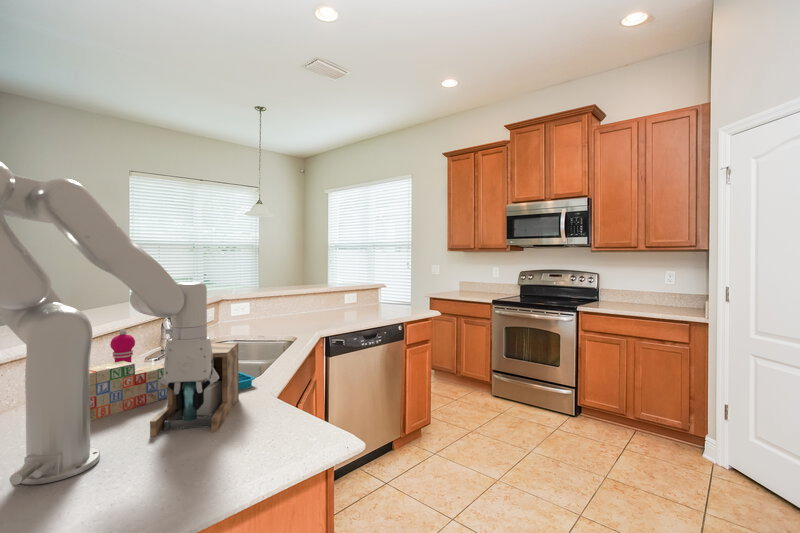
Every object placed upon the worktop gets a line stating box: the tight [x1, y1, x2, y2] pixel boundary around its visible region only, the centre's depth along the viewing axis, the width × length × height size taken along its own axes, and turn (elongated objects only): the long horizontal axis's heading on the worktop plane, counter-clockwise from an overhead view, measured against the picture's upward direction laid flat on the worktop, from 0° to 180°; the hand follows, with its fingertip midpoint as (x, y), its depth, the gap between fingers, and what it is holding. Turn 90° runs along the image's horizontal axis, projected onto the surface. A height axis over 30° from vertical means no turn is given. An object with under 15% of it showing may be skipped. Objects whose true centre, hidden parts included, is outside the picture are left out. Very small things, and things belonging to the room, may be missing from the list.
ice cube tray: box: [238, 371, 256, 391], centre depth 131 cm, size 12×20×3 cm, turn 50°
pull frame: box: [163, 382, 222, 431], centre depth 105 cm, size 18×11×11 cm, turn 10°
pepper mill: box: [109, 328, 136, 363], centre depth 118 cm, size 7×7×20 cm
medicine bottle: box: [197, 366, 222, 416], centre depth 108 cm, size 7×7×12 cm
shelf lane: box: [149, 342, 240, 437], centre depth 104 cm, size 23×14×16 cm, turn 10°
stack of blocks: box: [89, 361, 167, 422], centre depth 110 cm, size 21×6×12 cm, turn 149°
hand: (190, 407), depth 97 cm, fingers closed on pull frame, 3 cm apart
